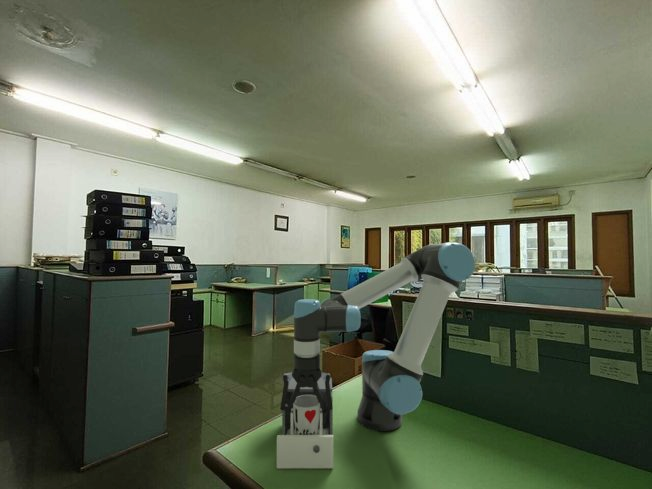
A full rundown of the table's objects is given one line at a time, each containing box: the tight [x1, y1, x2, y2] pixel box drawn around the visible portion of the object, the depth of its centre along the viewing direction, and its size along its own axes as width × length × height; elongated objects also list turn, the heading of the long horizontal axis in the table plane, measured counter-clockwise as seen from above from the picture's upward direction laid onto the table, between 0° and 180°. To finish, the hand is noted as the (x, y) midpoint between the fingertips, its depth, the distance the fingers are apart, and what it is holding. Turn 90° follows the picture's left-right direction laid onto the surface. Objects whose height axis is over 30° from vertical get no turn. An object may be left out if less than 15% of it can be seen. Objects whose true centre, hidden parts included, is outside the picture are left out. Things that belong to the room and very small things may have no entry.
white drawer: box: [276, 429, 335, 469], centre depth 88 cm, size 14×15×8 cm
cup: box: [293, 395, 320, 435], centre depth 88 cm, size 8×8×10 cm
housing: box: [281, 377, 334, 436], centre depth 97 cm, size 14×15×15 cm
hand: (306, 434), depth 88 cm, fingers closed on cup, 8 cm apart
